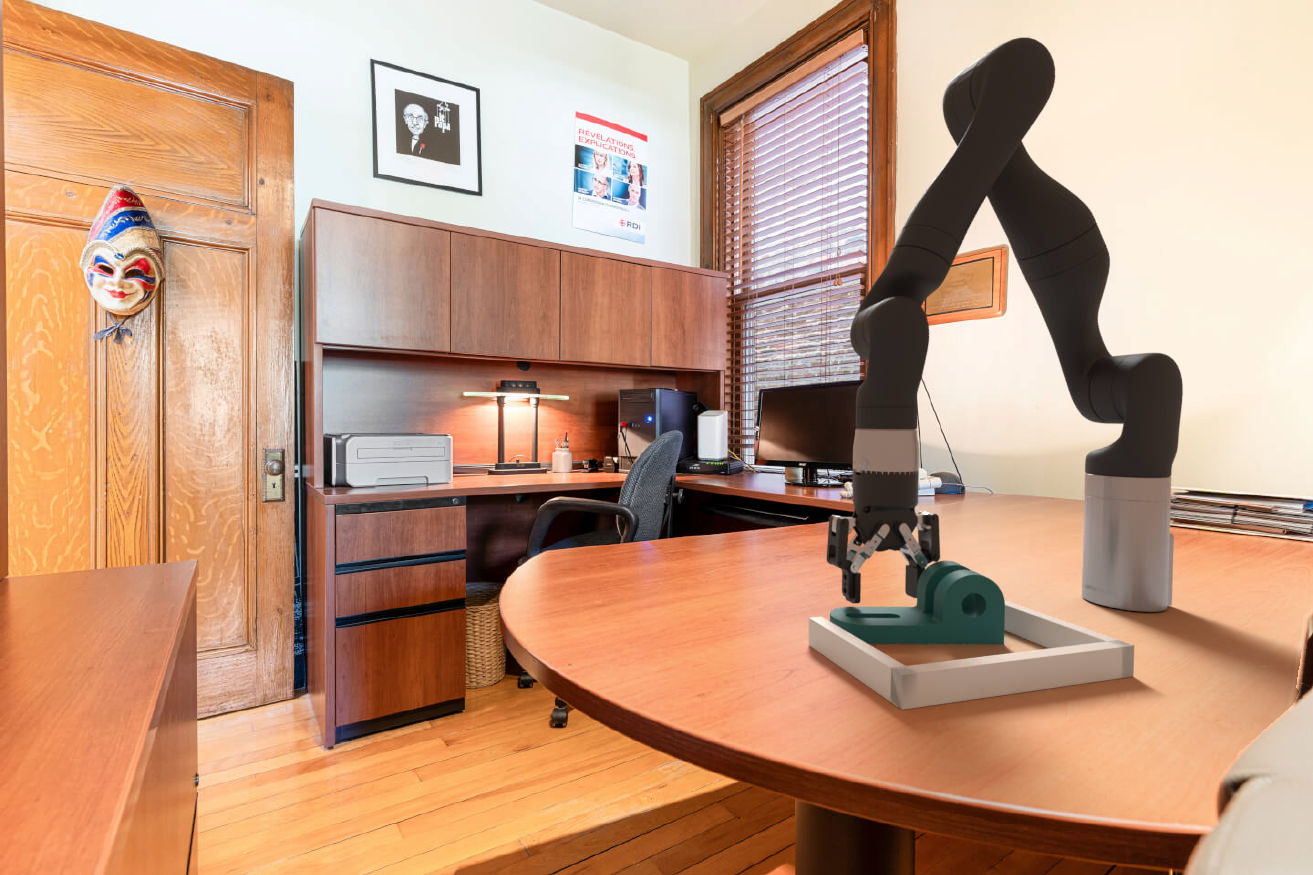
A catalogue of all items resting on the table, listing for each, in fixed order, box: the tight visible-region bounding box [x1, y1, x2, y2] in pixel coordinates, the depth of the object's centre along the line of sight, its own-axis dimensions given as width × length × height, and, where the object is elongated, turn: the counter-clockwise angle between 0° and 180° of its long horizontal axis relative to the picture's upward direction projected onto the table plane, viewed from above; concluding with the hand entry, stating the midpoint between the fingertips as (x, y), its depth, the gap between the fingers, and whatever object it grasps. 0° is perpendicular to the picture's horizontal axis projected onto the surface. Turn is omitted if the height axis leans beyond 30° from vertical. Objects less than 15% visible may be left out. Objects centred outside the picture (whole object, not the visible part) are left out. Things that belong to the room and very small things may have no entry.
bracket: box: [829, 560, 1005, 646], centre depth 71 cm, size 18×7×8 cm, turn 90°
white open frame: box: [808, 599, 1135, 710], centre depth 63 cm, size 26×16×3 cm, turn 106°
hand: (883, 599), depth 76 cm, fingers open, 8 cm apart
